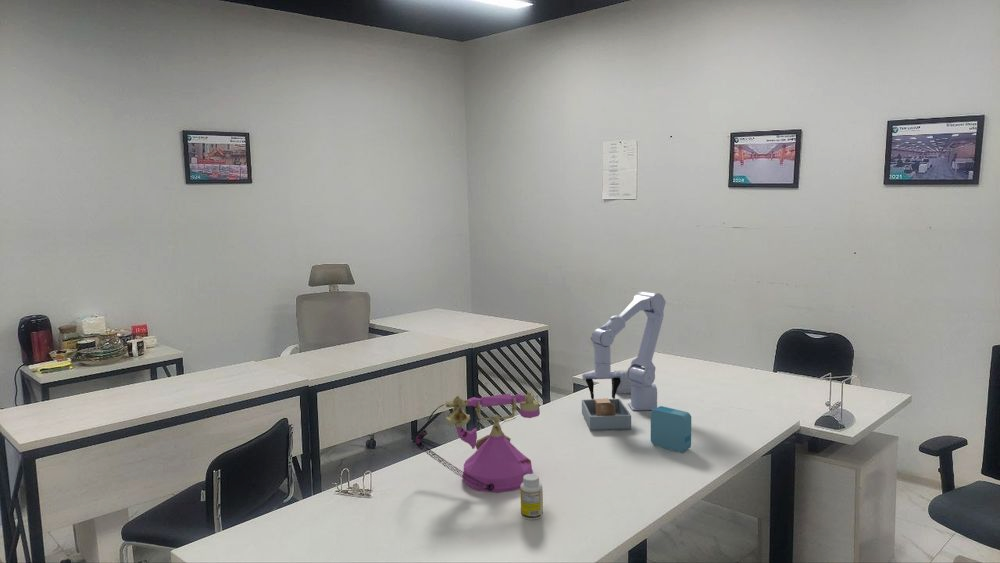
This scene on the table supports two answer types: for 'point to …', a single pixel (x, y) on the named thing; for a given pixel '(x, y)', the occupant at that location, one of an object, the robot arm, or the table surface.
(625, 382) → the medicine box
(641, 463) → the table surface
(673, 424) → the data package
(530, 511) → the supplement bottle
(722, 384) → the table surface
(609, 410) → the walnut cylinder
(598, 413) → the terracotta cube
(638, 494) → the table surface
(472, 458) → the telephone
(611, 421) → the tote
